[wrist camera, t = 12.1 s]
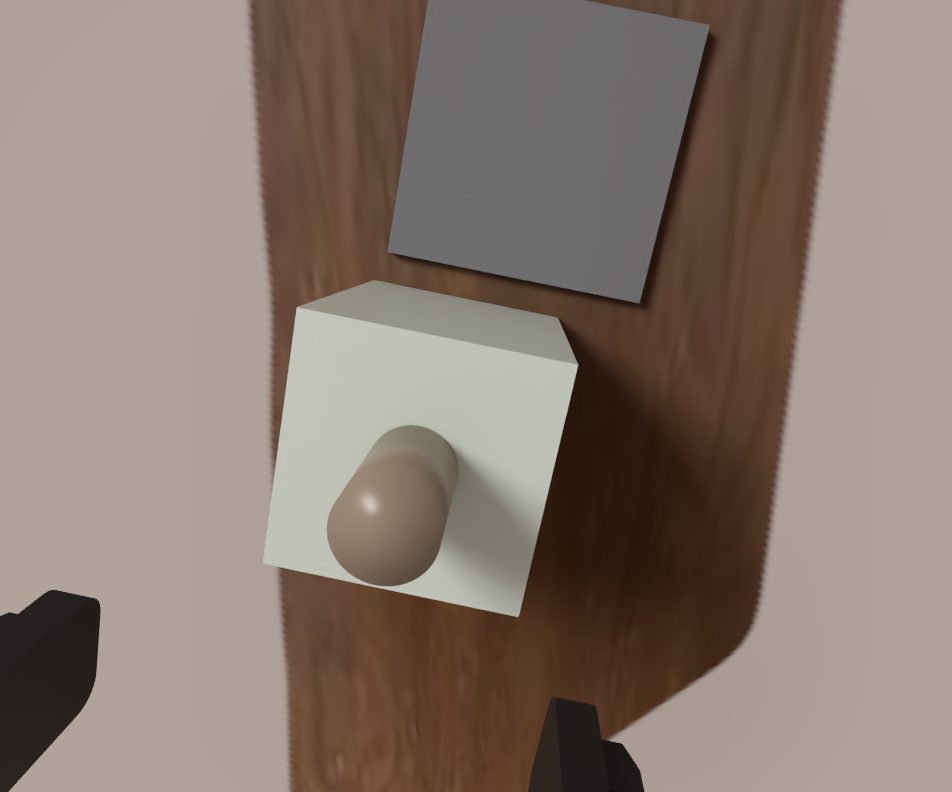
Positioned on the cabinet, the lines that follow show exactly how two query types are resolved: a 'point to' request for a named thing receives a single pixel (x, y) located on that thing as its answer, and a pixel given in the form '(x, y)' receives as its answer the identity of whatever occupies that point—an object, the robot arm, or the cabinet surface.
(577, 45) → the mat
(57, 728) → the robot arm
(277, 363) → the cabinet surface
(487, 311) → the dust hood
